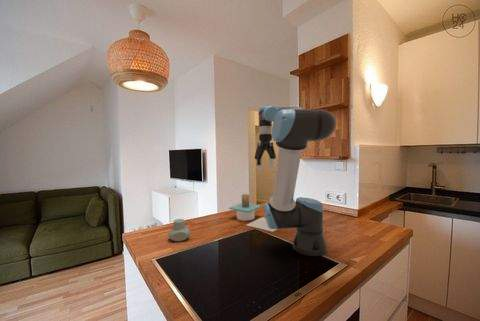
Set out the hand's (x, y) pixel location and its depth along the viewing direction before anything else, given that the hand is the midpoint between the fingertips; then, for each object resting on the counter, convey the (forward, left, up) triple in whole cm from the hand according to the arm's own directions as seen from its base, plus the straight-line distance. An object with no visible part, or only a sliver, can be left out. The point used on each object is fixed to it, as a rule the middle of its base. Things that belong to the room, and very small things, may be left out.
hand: (265, 170), depth 126 cm
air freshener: (-41, +29, -35) cm, 61 cm away
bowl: (+7, +21, -34) cm, 41 cm away
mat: (+5, +3, -34) cm, 35 cm away
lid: (+7, +21, -27) cm, 35 cm away
